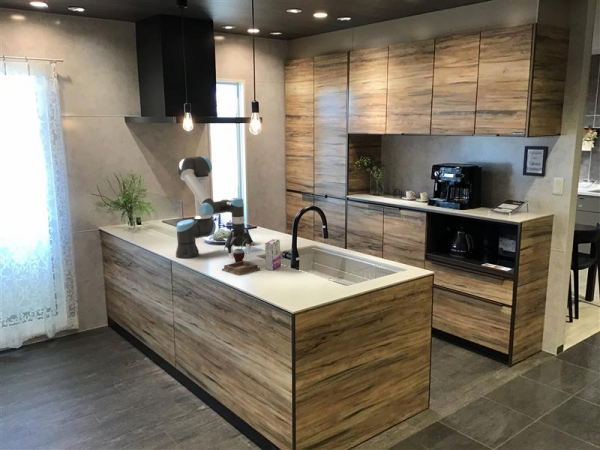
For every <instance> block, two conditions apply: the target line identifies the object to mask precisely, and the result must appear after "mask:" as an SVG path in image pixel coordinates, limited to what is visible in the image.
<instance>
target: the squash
mask: <svg viewBox="0 0 600 450" xmlns="http://www.w3.org/2000/svg"><path fill="white" fill-rule="evenodd" d="M245 229H247V228H246V227H245V228H244V230H245ZM230 232H233V229H232V230H231V231H230ZM244 235H245V236H246V234H245V232H244ZM232 237H233V236H232ZM246 238H247V236H246ZM247 239H248V238H247ZM244 241H245V240H244V239H243V238H237V239H236V240H235V242H234V244H233V246H240V245H241V246H242V244H243V242H244ZM246 244H247V243H246V241H245V242H244V244H243V245H246Z"/></svg>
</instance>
